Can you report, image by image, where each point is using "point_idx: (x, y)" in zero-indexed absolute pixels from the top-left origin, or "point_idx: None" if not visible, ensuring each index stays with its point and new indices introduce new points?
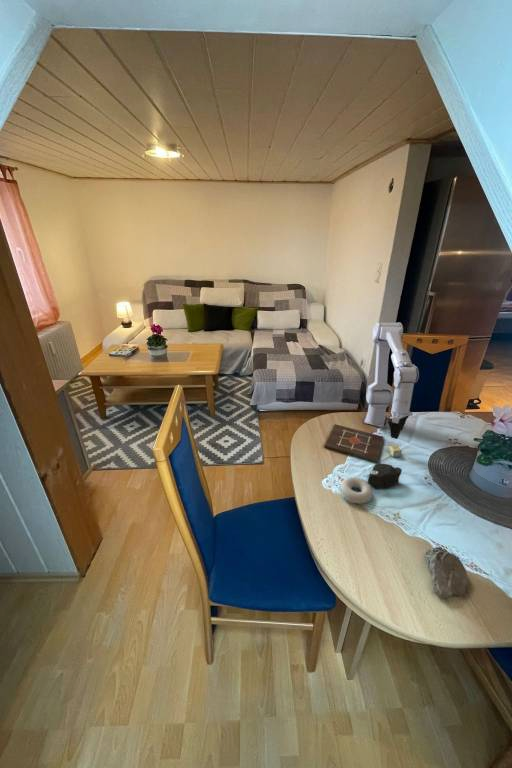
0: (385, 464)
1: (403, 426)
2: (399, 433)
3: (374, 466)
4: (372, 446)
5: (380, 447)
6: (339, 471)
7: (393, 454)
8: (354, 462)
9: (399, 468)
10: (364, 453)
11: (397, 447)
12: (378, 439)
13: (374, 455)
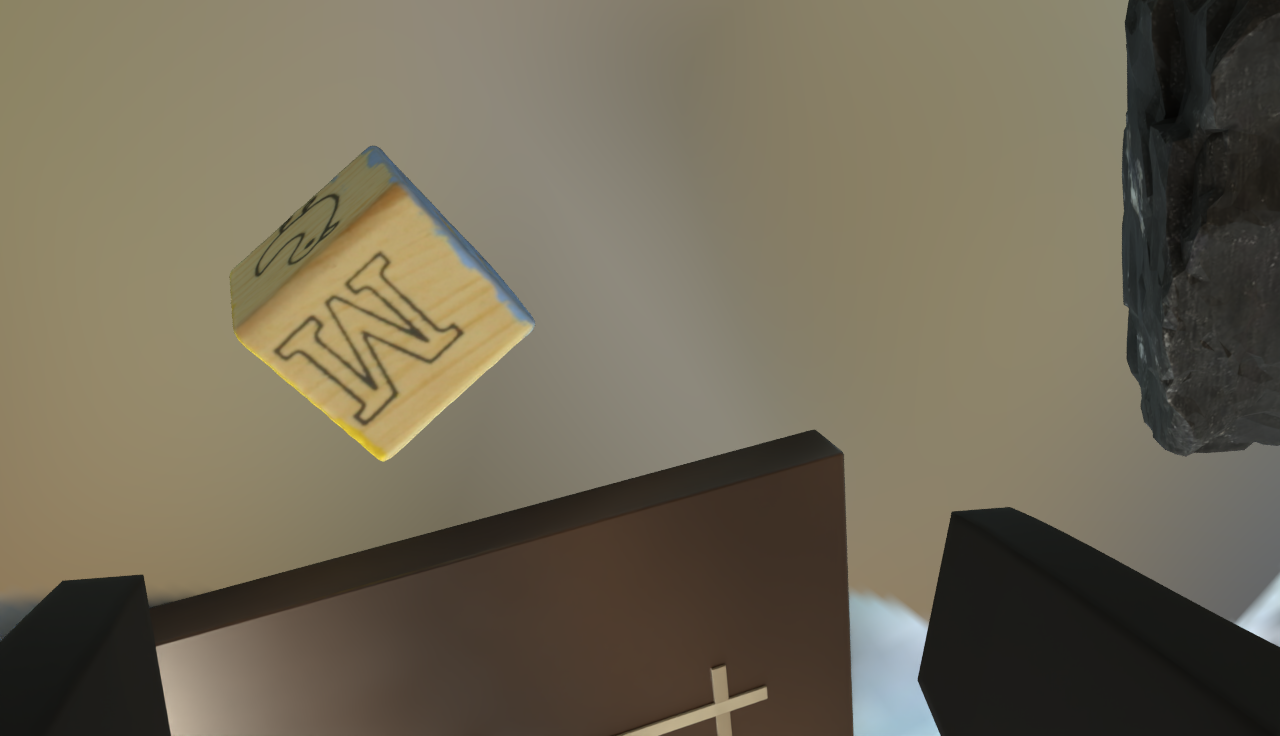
0: (1195, 320)
1: (70, 707)
2: (1209, 625)
3: (1222, 446)
4: (492, 697)
5: (423, 578)
6: None
7: (504, 285)
8: None
9: (1252, 49)
10: (771, 692)
11: (345, 300)
12: None
13: (737, 553)
